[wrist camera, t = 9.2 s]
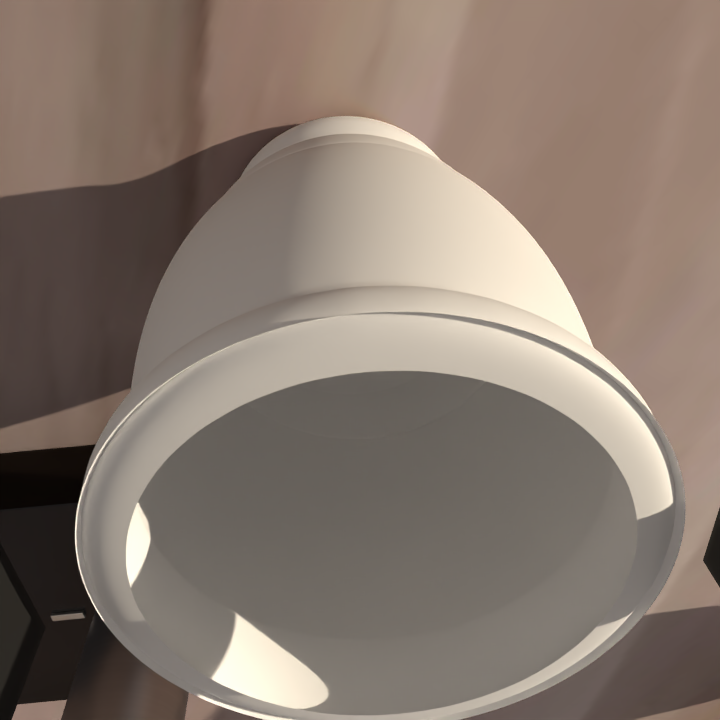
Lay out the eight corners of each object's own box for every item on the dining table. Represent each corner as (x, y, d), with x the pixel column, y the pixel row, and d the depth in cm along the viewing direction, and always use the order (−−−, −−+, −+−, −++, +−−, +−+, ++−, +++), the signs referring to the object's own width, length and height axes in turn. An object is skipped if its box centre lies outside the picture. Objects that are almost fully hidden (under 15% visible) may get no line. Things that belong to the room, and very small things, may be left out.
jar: (545, 252, 25) (783, 589, 12) (333, 400, 28) (350, 787, 15) (367, 2, 20) (461, 142, 7) (135, 216, 23) (-74, 566, 11)
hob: (270, 428, 29) (265, 488, 26) (305, 615, 36) (304, 680, 33) (-105, 462, 28) (-155, 528, 25) (6, 644, 36) (-23, 711, 33)
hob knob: (85, 579, 28) (11, 796, 21) (190, 569, 28) (150, 782, 21) (113, 641, 30) (55, 855, 23) (210, 632, 30) (180, 842, 23)
